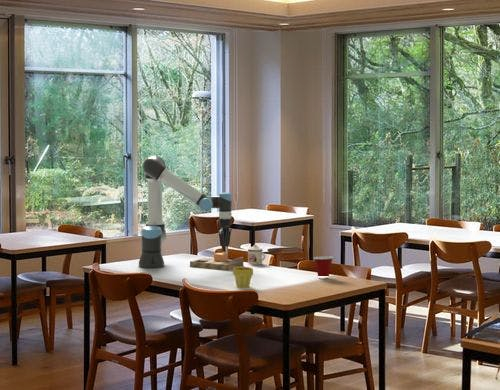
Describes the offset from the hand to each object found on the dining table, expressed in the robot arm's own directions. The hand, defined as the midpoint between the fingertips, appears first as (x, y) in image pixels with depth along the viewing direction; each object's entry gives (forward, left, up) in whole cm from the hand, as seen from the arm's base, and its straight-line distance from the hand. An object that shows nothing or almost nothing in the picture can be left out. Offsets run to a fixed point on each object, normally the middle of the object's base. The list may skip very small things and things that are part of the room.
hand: (224, 256), depth 555 cm
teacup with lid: (+17, +11, -5) cm, 20 cm away
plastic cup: (+71, -14, -5) cm, 72 cm away
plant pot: (+45, -60, -5) cm, 75 cm away
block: (0, -5, -1) cm, 6 cm away
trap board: (0, -10, -4) cm, 11 cm away
